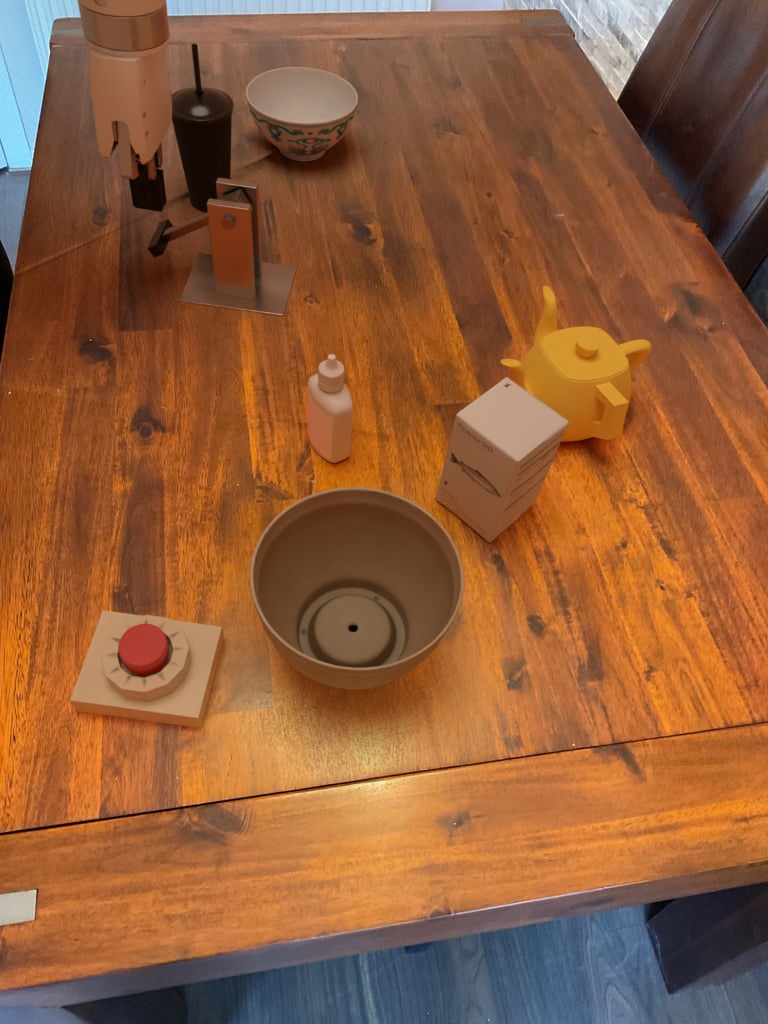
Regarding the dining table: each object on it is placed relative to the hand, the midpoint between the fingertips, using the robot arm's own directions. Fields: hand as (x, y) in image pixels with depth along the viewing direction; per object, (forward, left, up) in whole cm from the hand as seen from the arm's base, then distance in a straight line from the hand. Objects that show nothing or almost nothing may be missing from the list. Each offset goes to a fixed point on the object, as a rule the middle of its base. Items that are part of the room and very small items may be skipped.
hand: (150, 205), depth 86 cm
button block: (+39, -31, -10) cm, 51 cm away
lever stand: (+7, +6, -10) cm, 14 cm away
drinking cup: (-8, +14, -10) cm, 19 cm away
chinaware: (-11, +33, -10) cm, 36 cm away
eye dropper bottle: (+31, -3, -10) cm, 33 cm away
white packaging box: (+47, +3, -10) cm, 48 cm away
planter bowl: (+48, -17, -10) cm, 52 cm away
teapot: (+44, +19, -10) cm, 49 cm away
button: (+39, -31, -7) cm, 50 cm away
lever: (+4, +4, -3) cm, 6 cm away
